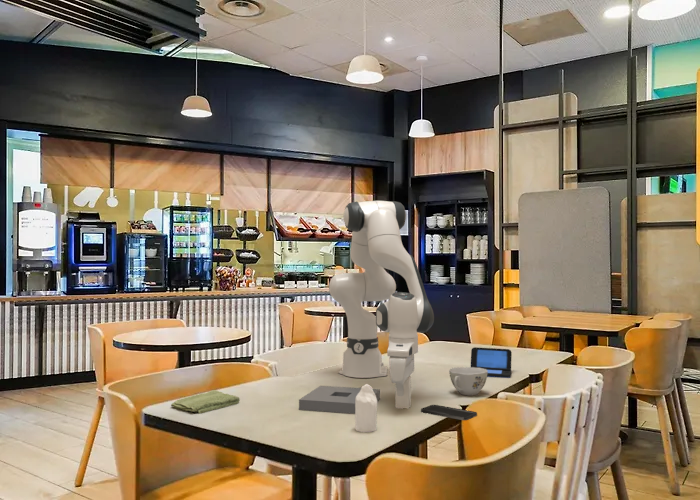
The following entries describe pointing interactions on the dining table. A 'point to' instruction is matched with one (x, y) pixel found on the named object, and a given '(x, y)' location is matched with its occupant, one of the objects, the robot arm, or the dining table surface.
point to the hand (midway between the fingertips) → (403, 392)
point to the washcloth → (206, 402)
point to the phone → (449, 412)
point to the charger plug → (406, 398)
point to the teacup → (468, 379)
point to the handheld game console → (492, 361)
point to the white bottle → (366, 410)
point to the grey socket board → (332, 399)
